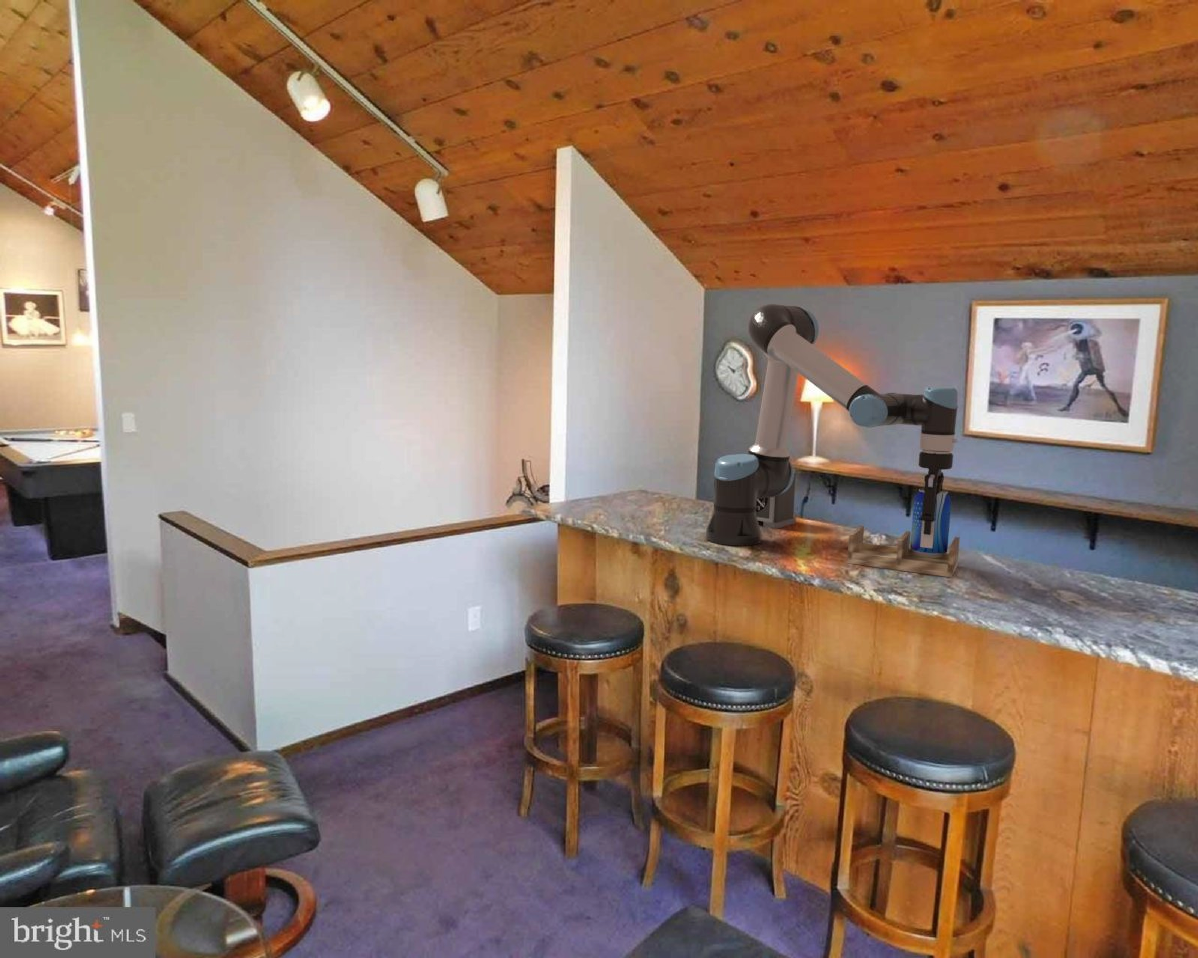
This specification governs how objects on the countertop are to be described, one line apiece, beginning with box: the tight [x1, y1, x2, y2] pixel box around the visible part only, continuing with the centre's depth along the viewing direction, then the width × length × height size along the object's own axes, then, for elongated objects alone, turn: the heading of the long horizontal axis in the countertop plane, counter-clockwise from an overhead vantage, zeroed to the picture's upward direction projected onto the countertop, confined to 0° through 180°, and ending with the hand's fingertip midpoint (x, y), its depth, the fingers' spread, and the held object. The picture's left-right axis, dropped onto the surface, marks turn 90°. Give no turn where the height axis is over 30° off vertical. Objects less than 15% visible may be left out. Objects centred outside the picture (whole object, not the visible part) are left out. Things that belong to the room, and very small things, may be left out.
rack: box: [846, 525, 961, 578], centre depth 199 cm, size 24×13×7 cm, turn 61°
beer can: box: [909, 487, 952, 558], centre depth 195 cm, size 8×8×16 cm
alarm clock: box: [756, 468, 797, 529], centre depth 248 cm, size 18×13×18 cm
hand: (928, 543), depth 196 cm, fingers closed on beer can, 8 cm apart
